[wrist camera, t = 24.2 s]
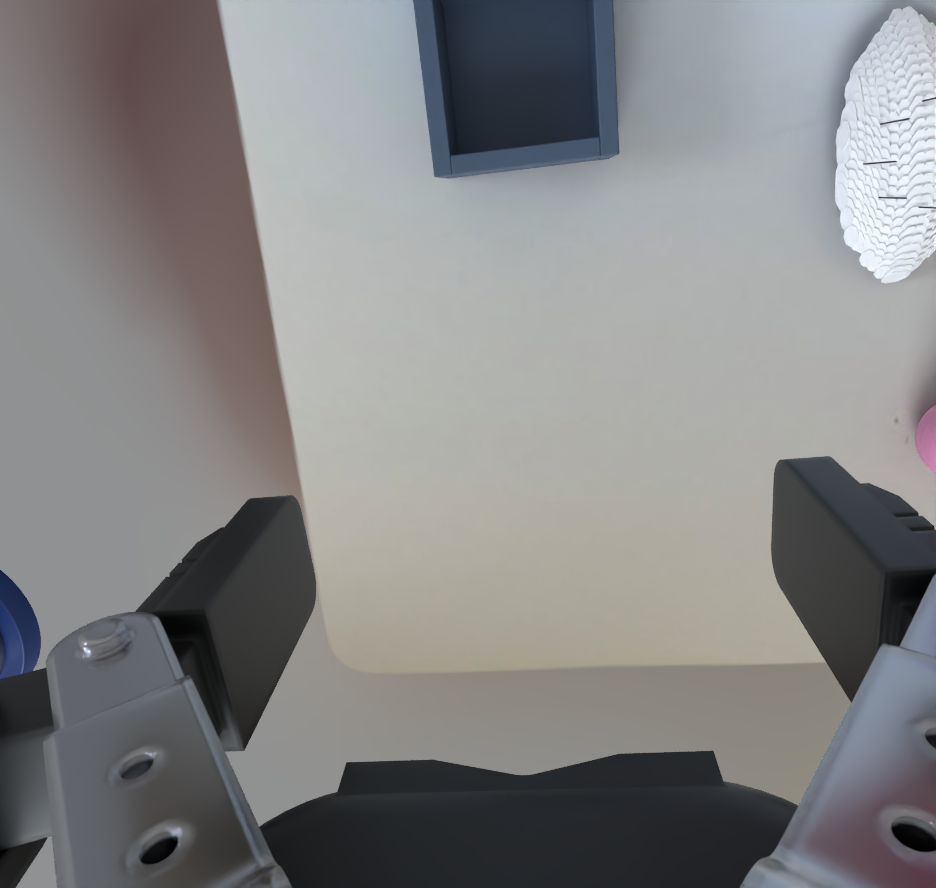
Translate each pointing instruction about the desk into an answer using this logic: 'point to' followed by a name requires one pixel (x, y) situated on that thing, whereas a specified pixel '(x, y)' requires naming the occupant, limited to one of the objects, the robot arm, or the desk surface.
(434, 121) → the sorter
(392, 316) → the desk surface
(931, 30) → the pincushion
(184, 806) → the robot arm
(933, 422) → the dog chew toy
